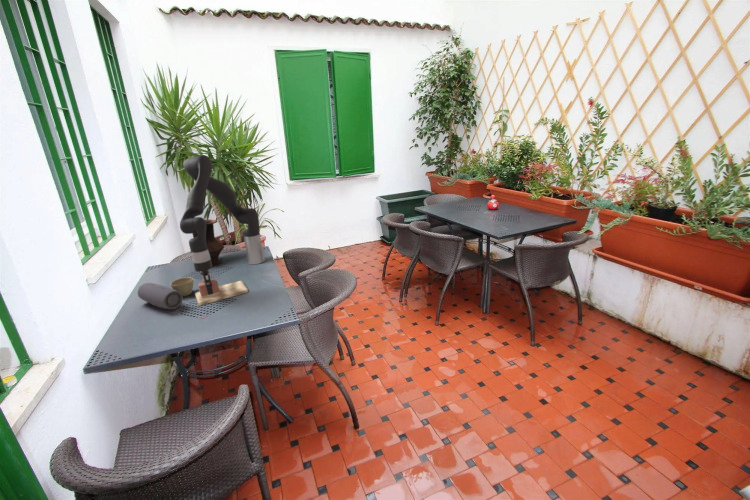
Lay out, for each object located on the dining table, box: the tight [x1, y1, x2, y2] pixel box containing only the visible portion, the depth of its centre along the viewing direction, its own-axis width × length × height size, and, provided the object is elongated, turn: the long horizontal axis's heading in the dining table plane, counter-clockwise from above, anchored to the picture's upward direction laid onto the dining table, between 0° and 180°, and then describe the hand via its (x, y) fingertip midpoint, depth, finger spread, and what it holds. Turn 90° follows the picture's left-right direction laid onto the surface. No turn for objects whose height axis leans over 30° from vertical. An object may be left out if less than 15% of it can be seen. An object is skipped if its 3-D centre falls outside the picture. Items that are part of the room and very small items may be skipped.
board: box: [194, 280, 249, 306], centre depth 167 cm, size 22×14×2 cm, turn 123°
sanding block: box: [197, 278, 220, 298], centre depth 163 cm, size 8×4×6 cm, turn 123°
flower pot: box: [170, 276, 195, 297], centre depth 168 cm, size 10×10×7 cm
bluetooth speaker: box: [137, 282, 184, 310], centre depth 157 cm, size 23×9×10 cm, turn 59°
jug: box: [192, 219, 225, 267], centre depth 204 cm, size 21×18×30 cm
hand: (209, 291), depth 164 cm, fingers open, 7 cm apart
